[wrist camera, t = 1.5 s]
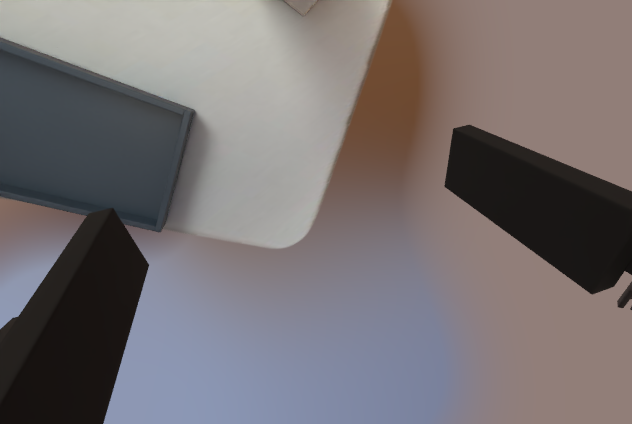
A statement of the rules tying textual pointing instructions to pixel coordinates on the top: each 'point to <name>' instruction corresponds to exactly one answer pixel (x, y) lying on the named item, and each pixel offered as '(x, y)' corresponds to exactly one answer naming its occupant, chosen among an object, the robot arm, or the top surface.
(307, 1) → the small box
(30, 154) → the tray
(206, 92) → the top surface
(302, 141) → the top surface
